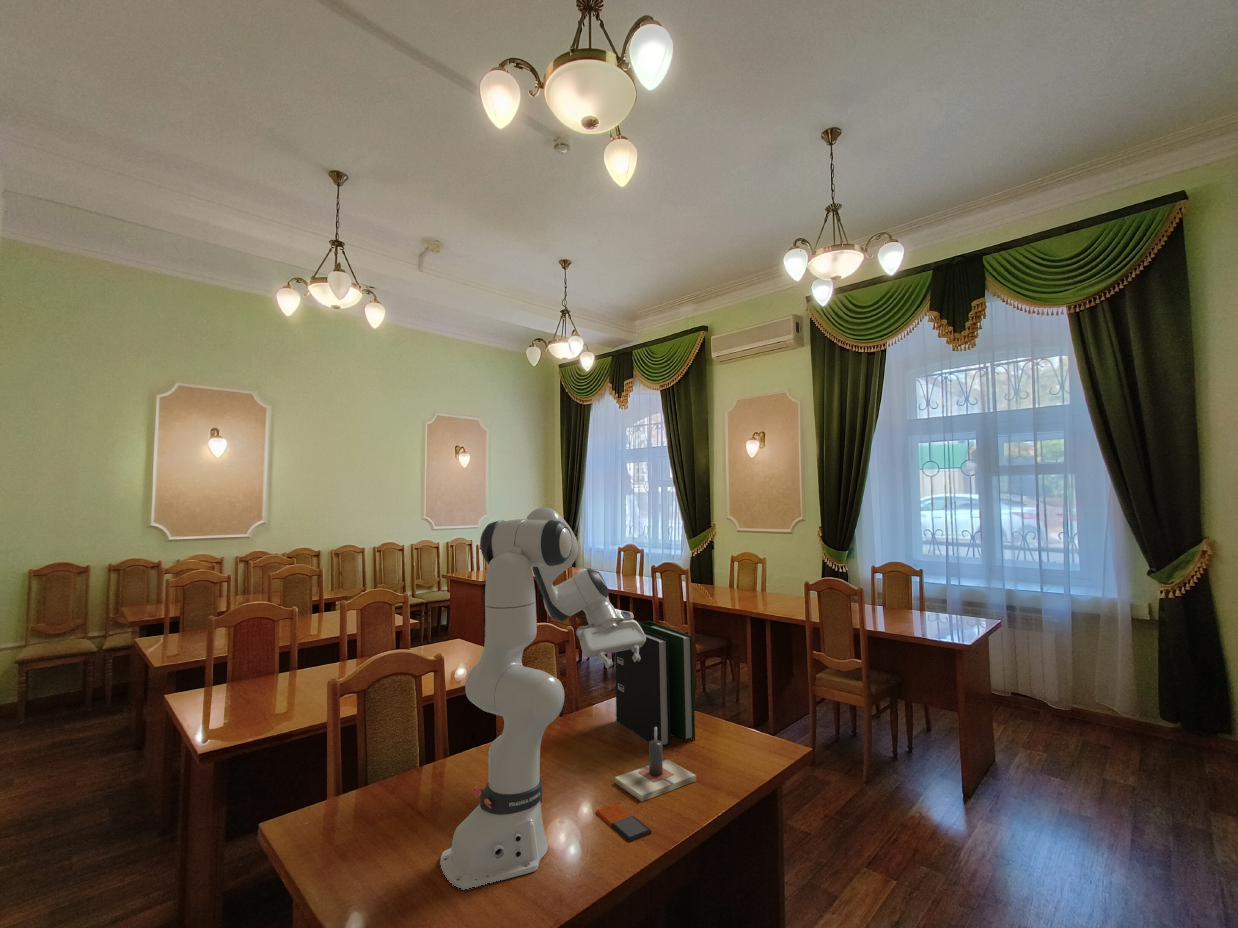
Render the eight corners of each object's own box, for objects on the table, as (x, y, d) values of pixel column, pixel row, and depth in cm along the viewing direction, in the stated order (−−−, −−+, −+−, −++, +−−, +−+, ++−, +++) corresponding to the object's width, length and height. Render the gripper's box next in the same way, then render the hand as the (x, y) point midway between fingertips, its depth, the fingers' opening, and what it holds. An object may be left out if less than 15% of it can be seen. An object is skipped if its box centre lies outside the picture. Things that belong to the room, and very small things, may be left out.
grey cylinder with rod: (654, 777, 154) (654, 731, 154) (646, 772, 157) (646, 726, 157) (665, 773, 156) (665, 728, 156) (657, 768, 159) (657, 723, 159)
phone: (617, 801, 144) (652, 829, 131) (617, 806, 144) (653, 835, 131) (594, 809, 140) (628, 839, 128) (594, 815, 140) (628, 845, 128)
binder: (697, 740, 181) (694, 635, 183) (656, 750, 174) (654, 641, 176) (651, 712, 205) (649, 620, 207) (614, 721, 198) (612, 625, 200)
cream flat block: (641, 801, 145) (641, 794, 145) (614, 782, 155) (614, 776, 155) (696, 780, 155) (695, 774, 155) (667, 764, 165) (667, 758, 165)
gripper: (577, 620, 164) (596, 663, 155) (636, 611, 175) (657, 651, 167) (570, 633, 167) (588, 676, 159) (628, 624, 179) (648, 663, 170)
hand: (624, 663), depth 163 cm, fingers open, 8 cm apart
